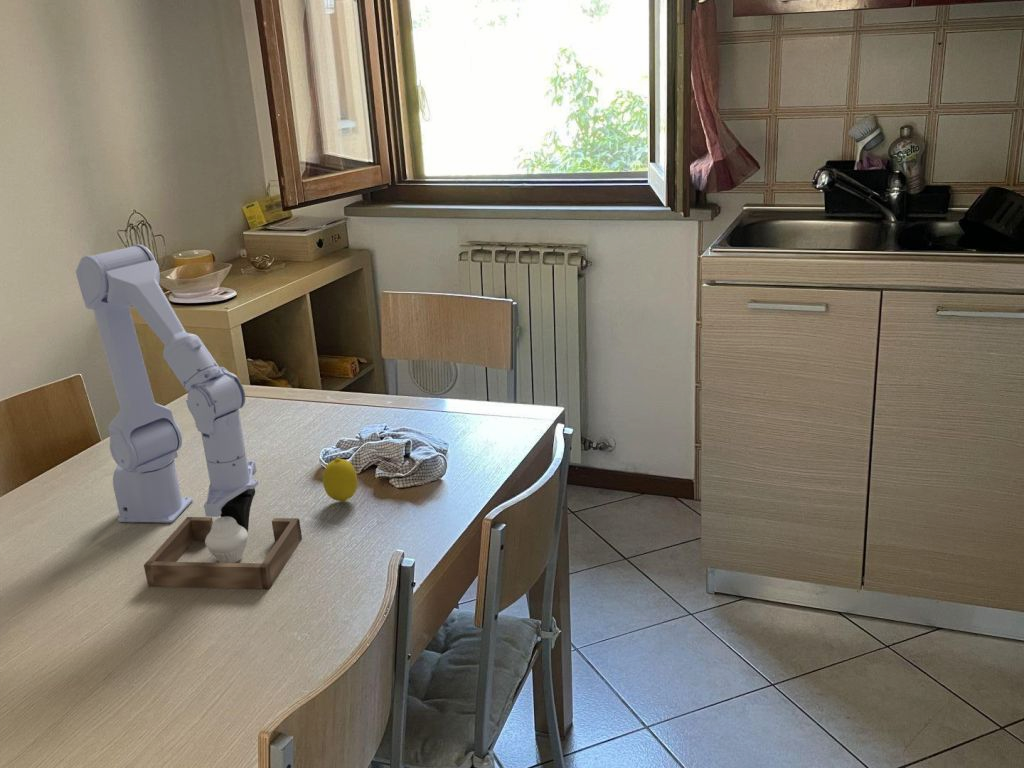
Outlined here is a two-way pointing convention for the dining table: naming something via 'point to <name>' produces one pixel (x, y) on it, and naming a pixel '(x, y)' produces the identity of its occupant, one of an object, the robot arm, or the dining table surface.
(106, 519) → the dining table surface
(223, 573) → the brown wooden u-shaped frame
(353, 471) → the lemon
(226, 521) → the muffin
